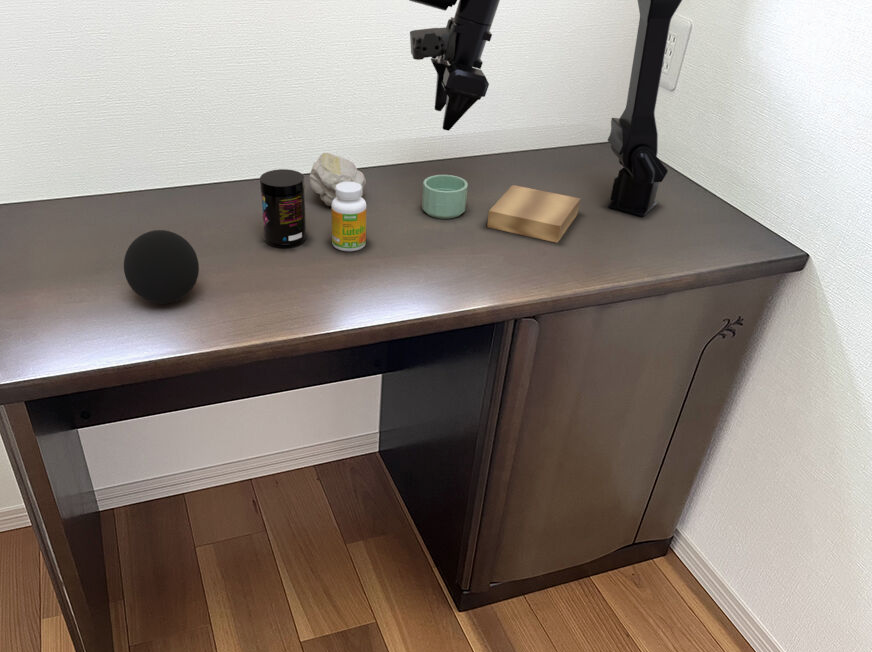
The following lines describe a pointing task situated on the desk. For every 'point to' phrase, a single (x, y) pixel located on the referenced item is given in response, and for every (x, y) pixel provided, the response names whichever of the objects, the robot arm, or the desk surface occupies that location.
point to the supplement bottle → (348, 217)
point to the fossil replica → (333, 176)
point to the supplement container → (283, 207)
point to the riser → (533, 213)
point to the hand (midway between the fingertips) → (441, 119)
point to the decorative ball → (161, 266)
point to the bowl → (444, 196)
